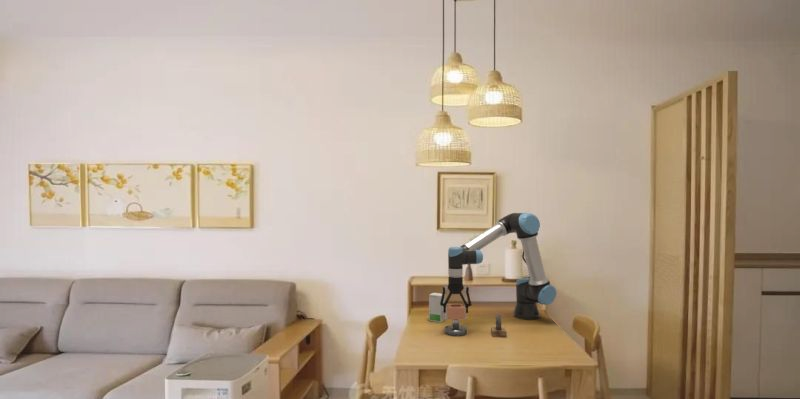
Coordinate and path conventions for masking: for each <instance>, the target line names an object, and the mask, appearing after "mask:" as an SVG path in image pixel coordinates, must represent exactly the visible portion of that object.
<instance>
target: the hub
mask: <svg viewBox="0 0 800 399" xmlns="http://www.w3.org/2000/svg"><path fill="white" fill-rule="evenodd" d="M459 322H460V319H452V324H450V325H446V326H444V327H443V329H444V330H443V332H444V335H447V336H450V337H465V336H467V335H468V327H466V326H464V325H460V323H459Z"/></svg>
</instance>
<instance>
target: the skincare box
mask: <svg viewBox="0 0 800 399" xmlns="http://www.w3.org/2000/svg"><path fill="white" fill-rule="evenodd" d="M441 297H442V293H439V292H432V293H430V294H429V297H428V299H429V300H428V321H429V322H435V323H443V322H445V321H446V313H444V307H443V306H441V305H440V302H441ZM446 298H447V296H446V293H445V296H444V300H443V303H444V302H445V300H446Z"/></svg>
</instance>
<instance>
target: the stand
mask: <svg viewBox="0 0 800 399" xmlns="http://www.w3.org/2000/svg"><path fill="white" fill-rule="evenodd" d="M507 333H508V332H507V330H506V328H505V327H502V315H500V314H496V315H495V327H492V326H491V327H490V334H491V336H492V338H507V337H508V335H507Z"/></svg>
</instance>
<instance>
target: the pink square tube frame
mask: <svg viewBox="0 0 800 399" xmlns="http://www.w3.org/2000/svg"><path fill="white" fill-rule="evenodd" d="M446 306H447V320H453V319H459V320H464V319H465V304H464V303H447V305H446Z"/></svg>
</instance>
